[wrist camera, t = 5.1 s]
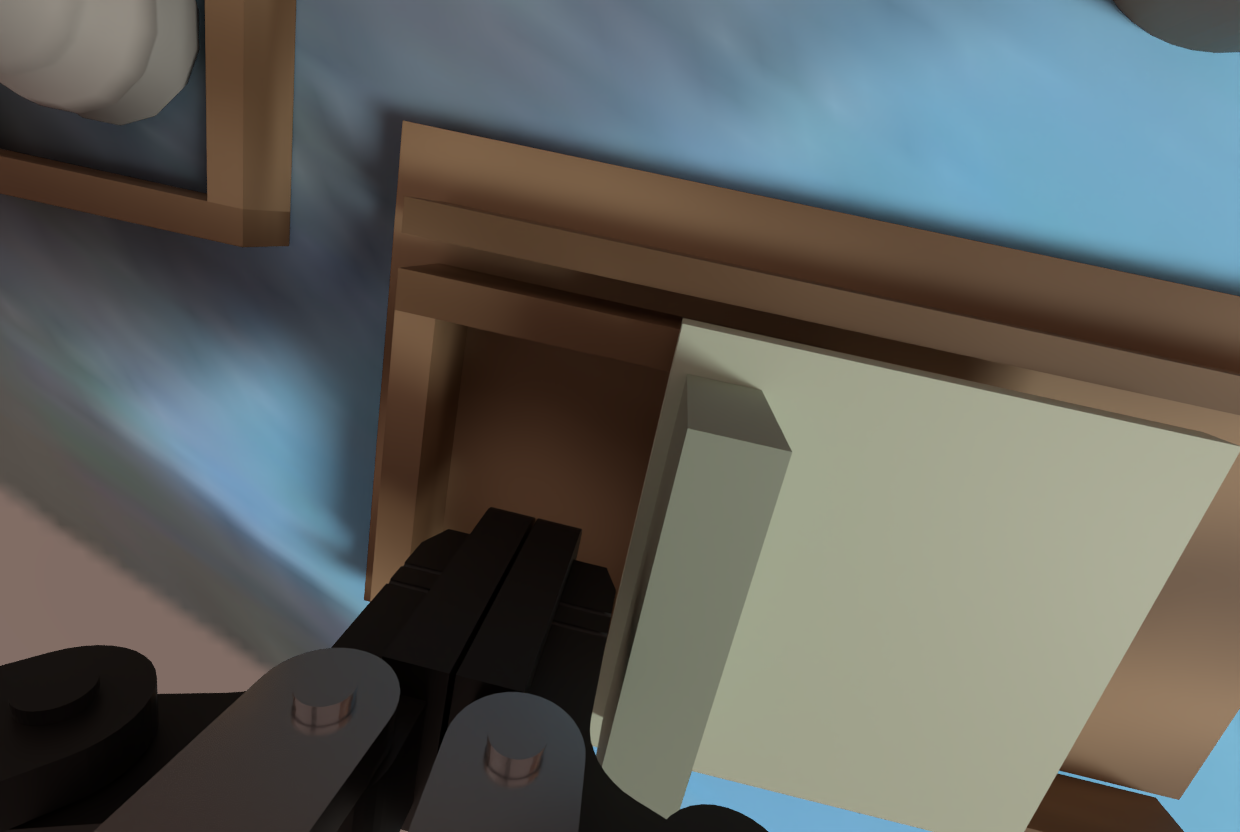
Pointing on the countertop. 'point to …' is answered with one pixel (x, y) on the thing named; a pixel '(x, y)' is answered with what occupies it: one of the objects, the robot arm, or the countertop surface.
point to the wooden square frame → (236, 142)
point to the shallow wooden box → (793, 311)
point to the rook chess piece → (99, 54)
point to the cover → (881, 582)
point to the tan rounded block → (1188, 22)
